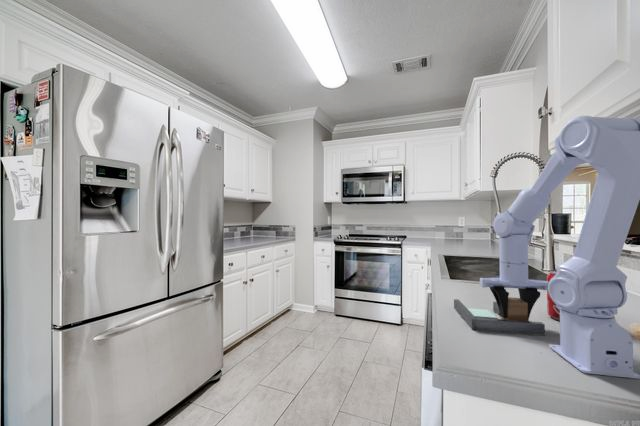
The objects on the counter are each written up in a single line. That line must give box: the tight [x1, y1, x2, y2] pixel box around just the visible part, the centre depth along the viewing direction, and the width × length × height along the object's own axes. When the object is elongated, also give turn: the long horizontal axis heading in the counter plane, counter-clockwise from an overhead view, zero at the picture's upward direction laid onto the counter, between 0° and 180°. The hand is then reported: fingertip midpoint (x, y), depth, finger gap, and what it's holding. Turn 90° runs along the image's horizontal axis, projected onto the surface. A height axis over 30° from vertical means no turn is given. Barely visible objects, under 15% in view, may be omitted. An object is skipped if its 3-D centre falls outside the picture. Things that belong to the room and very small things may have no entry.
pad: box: [466, 307, 498, 319], centre depth 72 cm, size 6×6×1 cm
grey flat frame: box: [453, 298, 546, 337], centre depth 68 cm, size 15×15×2 cm
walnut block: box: [500, 296, 529, 321], centre depth 65 cm, size 4×4×6 cm
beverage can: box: [546, 270, 560, 321], centre depth 69 cm, size 6×6×12 cm
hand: (514, 317), depth 65 cm, fingers closed on walnut block, 4 cm apart
